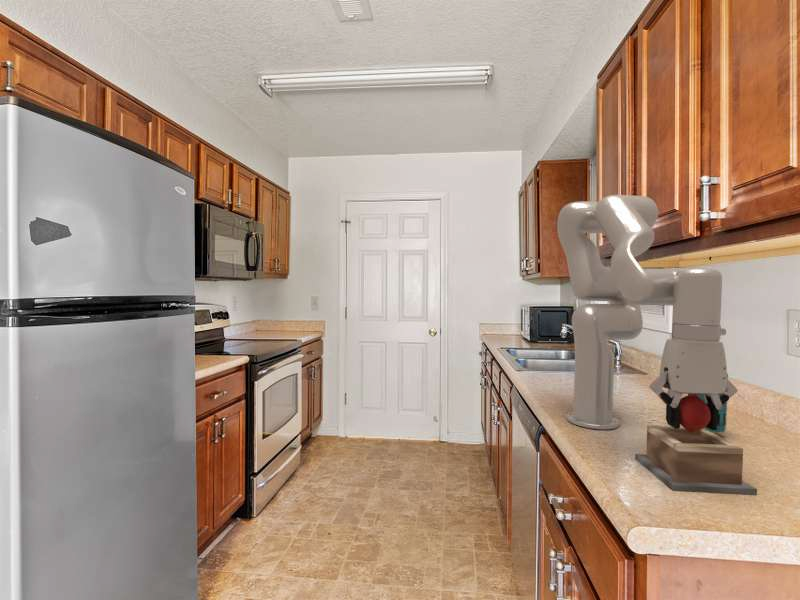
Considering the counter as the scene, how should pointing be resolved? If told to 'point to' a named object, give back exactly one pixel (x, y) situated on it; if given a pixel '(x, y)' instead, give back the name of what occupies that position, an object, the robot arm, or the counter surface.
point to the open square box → (694, 461)
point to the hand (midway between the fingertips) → (691, 426)
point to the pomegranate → (694, 413)
